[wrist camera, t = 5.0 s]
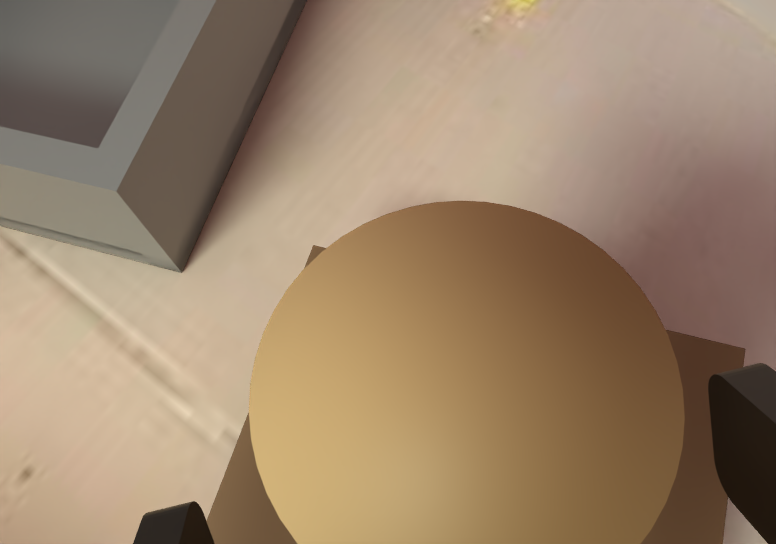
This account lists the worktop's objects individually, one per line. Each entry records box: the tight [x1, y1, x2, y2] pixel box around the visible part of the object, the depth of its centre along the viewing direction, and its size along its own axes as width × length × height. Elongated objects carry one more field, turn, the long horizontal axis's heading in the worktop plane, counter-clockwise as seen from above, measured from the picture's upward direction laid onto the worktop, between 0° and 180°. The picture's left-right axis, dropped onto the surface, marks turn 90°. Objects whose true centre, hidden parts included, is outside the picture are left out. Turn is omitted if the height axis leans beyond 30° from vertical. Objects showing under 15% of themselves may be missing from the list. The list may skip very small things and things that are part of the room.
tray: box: [0, 0, 307, 273], centre depth 23 cm, size 13×13×4 cm
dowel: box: [249, 201, 685, 544], centre depth 12 cm, size 4×4×12 cm
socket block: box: [206, 245, 745, 544], centre depth 16 cm, size 10×10×3 cm
